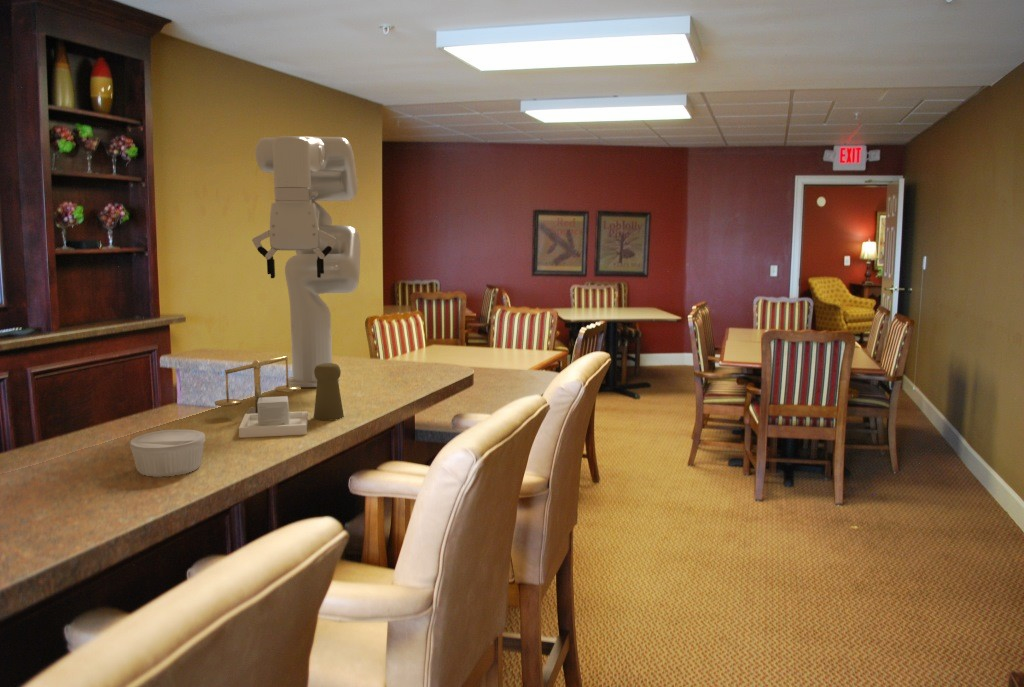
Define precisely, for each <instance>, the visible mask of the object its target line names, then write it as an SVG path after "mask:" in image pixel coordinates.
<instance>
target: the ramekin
mask: <svg viewBox="0 0 1024 687" xmlns="http://www.w3.org/2000/svg"><path fill="white" fill-rule="evenodd" d="M205 442H206V435H205V433H204V432H202V431H200V430H196V429H195V430H194V429H184V428H183V429H182V428H181V429H178V428H177V429H163V430H157V431H151V432H147V433H143V434H140V435H137V436H134V438H133V437H132V439H131V440H130V441H129V448H130V450H131V451H132V456H133V461H134V463H135V467H136V470H137V472H138V473H139V474H140V475H141V476H144V475H146V476H145V477H148V476H153V477H152V478H163V477H162V476H171V477H176V476H175V475H178V476H181V475H180V474H183V475H186V473H187V474H189V472H190V473H193V472H194V471H196V470H197V469H198V468H199V467H200V466H201V465H202V463H203V462H202V461H203V454H204V446H205V445H204V444H205ZM192 471H193V472H192Z"/></svg>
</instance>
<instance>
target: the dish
mask: <svg viewBox="0 0 1024 687" xmlns="http://www.w3.org/2000/svg"><path fill="white" fill-rule="evenodd" d="M308 425H309V411H307V410H306V411H305V410H304V411H289V425H270V426H259V425H258V413H254V414H247V413H245V414H244V416H243V418H242V420H241V422H240V425H239V426H238V438H242V439H243V438H259V437H260V438H261V437H262V438H263V437H278V436H283V437H285V436H286V437H287V436H301V435H302V436H304V435H305V436H306V435H307V433H308Z"/></svg>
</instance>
